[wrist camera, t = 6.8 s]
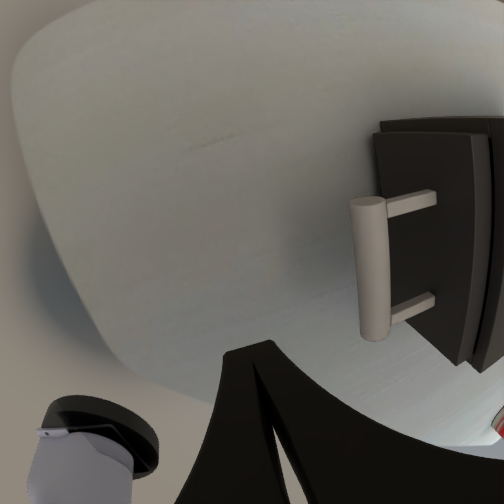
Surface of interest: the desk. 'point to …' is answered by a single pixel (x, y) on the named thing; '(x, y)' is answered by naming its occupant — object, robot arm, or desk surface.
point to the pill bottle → (499, 423)
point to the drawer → (427, 238)
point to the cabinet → (500, 282)
